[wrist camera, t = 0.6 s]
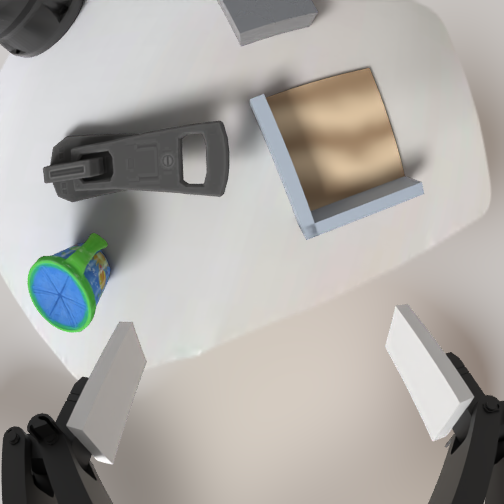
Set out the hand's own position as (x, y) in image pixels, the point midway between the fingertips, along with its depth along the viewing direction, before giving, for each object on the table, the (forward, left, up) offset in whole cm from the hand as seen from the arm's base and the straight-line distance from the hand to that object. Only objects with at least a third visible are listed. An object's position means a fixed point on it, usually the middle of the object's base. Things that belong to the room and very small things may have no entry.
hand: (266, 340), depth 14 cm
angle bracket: (-24, +11, -24) cm, 36 cm away
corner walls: (-4, +12, -24) cm, 28 cm away
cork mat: (-5, +13, -25) cm, 28 cm away
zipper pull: (-12, -11, -25) cm, 30 cm away
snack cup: (-2, -26, -25) cm, 36 cm away
